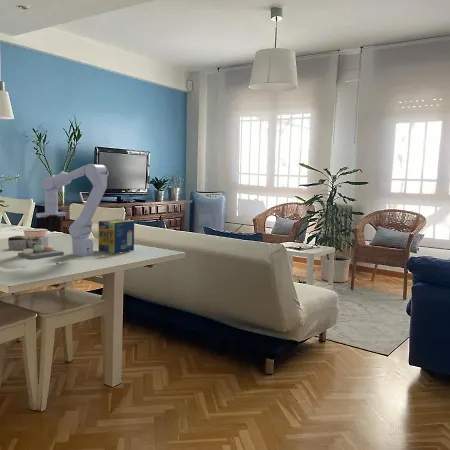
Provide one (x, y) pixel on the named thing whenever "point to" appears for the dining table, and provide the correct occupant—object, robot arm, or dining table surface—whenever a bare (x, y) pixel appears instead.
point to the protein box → (116, 236)
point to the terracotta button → (48, 248)
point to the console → (41, 254)
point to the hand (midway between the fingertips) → (51, 231)
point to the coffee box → (26, 242)
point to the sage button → (38, 248)
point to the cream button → (27, 251)
